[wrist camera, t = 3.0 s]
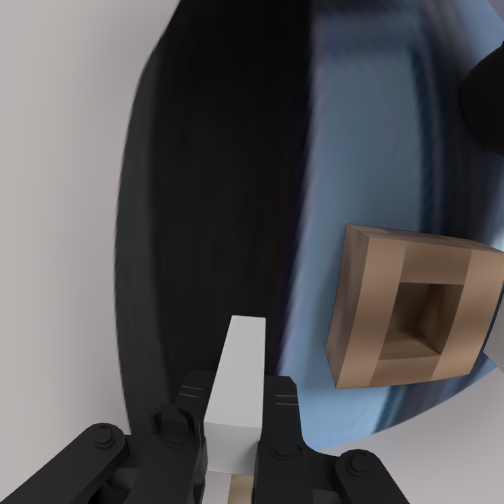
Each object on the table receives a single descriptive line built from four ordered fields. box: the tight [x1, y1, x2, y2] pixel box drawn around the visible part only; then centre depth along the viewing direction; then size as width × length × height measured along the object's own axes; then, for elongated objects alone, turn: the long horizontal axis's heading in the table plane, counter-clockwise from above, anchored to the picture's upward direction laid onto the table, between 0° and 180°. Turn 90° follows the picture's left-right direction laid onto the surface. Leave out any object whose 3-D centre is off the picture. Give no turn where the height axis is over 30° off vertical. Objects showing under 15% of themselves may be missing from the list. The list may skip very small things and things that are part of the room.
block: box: [325, 224, 504, 389], centre depth 16 cm, size 9×11×4 cm
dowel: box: [228, 474, 254, 504], centre depth 14 cm, size 3×3×14 cm
